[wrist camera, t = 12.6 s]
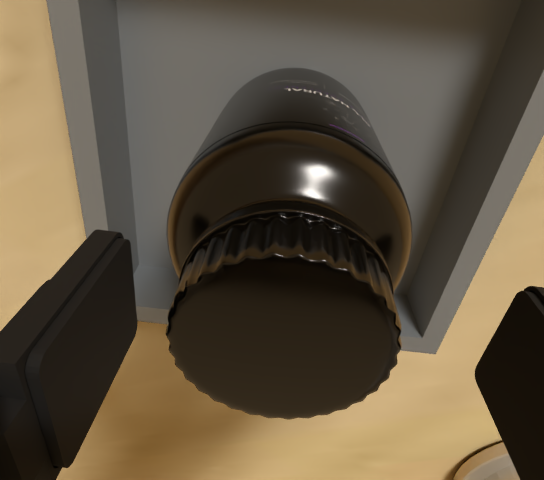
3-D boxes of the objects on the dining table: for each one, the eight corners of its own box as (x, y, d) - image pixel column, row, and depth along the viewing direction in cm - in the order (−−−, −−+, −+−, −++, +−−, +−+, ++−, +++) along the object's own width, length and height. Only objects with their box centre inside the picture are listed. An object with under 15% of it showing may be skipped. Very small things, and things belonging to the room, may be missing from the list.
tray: (573, -87, 14) (662, -107, 11) (415, 301, 24) (435, 354, 20) (82, -156, 14) (13, -199, 10) (127, 268, 23) (99, 316, 20)
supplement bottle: (359, 44, 16) (475, 163, 6) (375, 197, 19) (463, 435, 9) (193, 84, 17) (48, 242, 7) (238, 222, 20) (184, 459, 10)
